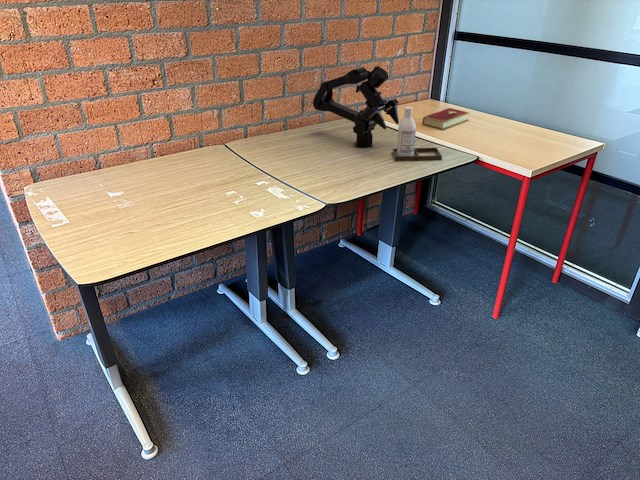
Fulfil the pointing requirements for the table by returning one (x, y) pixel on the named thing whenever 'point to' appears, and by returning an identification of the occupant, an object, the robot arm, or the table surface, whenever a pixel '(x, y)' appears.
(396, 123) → the robot arm
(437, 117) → the hardcover book
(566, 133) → the table surface
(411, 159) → the tray
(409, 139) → the bath foam
